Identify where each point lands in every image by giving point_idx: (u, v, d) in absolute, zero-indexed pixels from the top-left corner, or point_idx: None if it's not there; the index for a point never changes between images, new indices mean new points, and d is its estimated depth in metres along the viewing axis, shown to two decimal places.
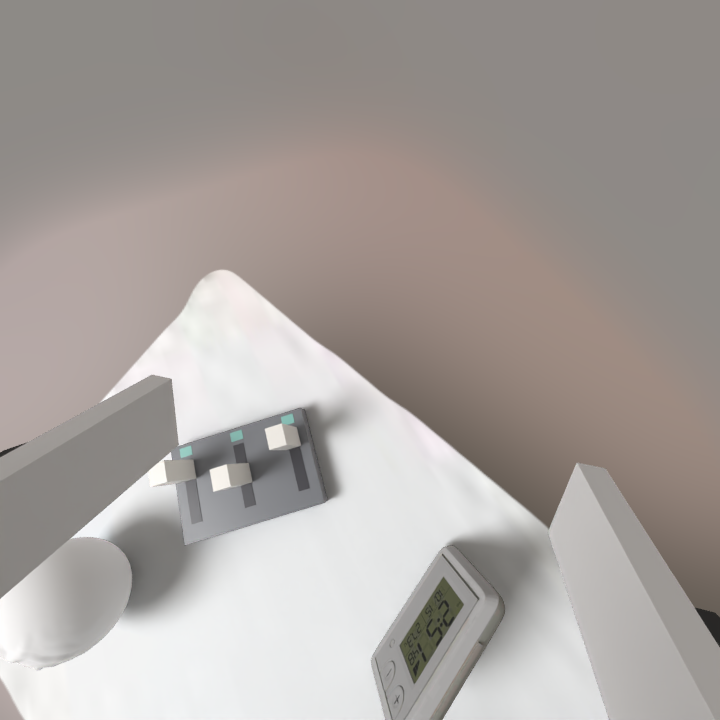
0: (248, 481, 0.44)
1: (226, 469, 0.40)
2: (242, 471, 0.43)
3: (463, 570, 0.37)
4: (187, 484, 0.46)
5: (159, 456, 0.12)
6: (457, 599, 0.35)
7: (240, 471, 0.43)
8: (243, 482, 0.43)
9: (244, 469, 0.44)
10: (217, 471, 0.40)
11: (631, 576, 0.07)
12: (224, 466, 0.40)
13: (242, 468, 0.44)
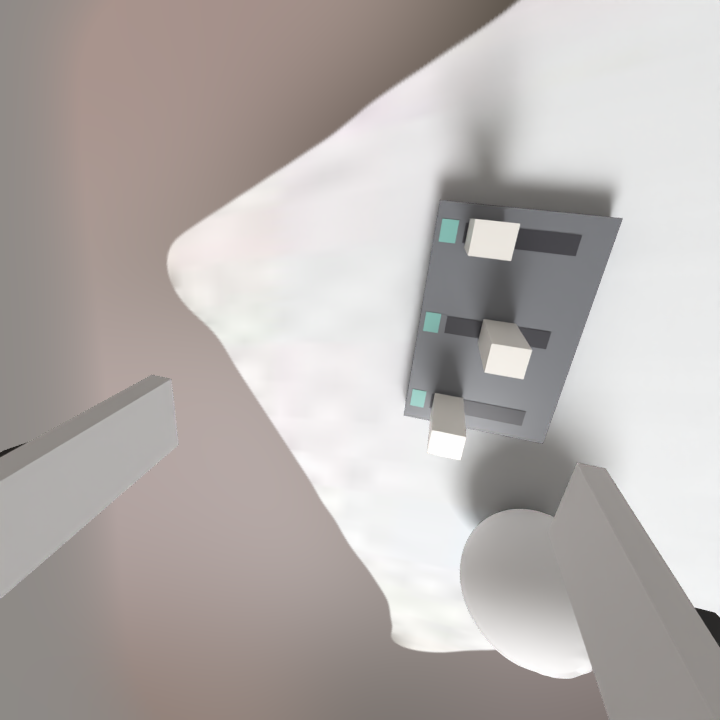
0: (516, 327, 0.27)
1: (500, 347, 0.23)
2: (500, 329, 0.26)
3: None
4: (464, 411, 0.31)
5: (159, 456, 0.12)
6: None
7: (500, 331, 0.25)
8: (519, 333, 0.25)
9: (496, 326, 0.26)
10: (494, 361, 0.23)
11: (631, 576, 0.07)
12: (493, 348, 0.23)
13: (494, 327, 0.26)
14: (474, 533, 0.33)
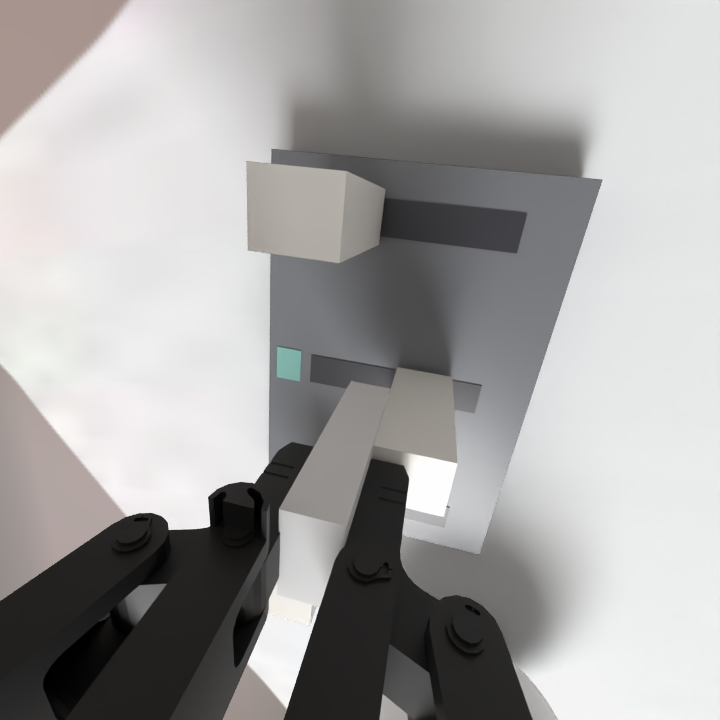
0: (448, 388, 0.15)
1: (391, 454, 0.11)
2: (415, 394, 0.14)
3: None
4: None
5: None
6: None
7: (413, 400, 0.13)
8: (449, 405, 0.13)
9: (411, 386, 0.14)
10: None
11: None
12: (377, 454, 0.11)
13: (405, 390, 0.14)
14: None
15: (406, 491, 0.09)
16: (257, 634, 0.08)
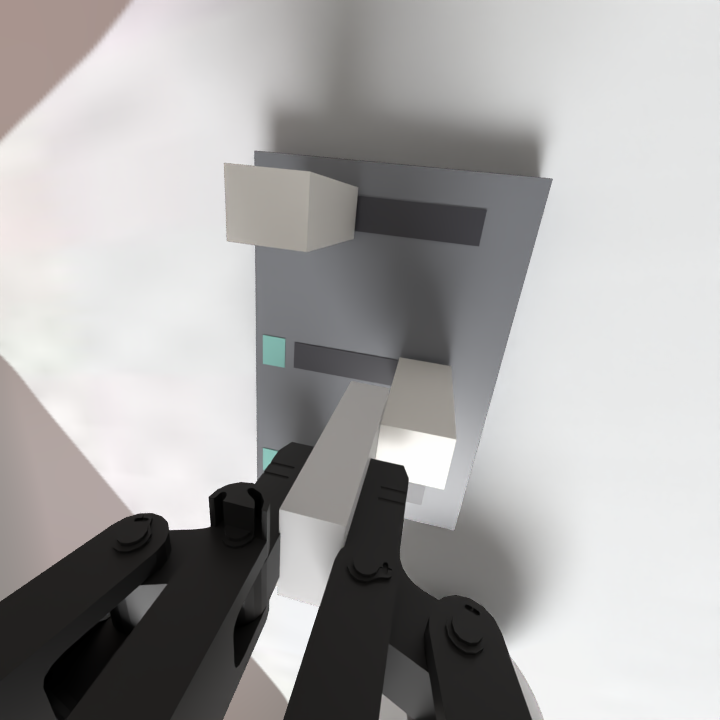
0: (448, 375, 0.16)
1: (396, 432, 0.12)
2: (417, 381, 0.15)
3: None
4: None
5: None
6: None
7: (415, 386, 0.14)
8: (449, 390, 0.14)
9: (413, 374, 0.15)
10: (389, 456, 0.12)
11: None
12: (384, 432, 0.12)
13: (407, 377, 0.15)
14: None
15: (406, 491, 0.09)
16: (257, 634, 0.08)
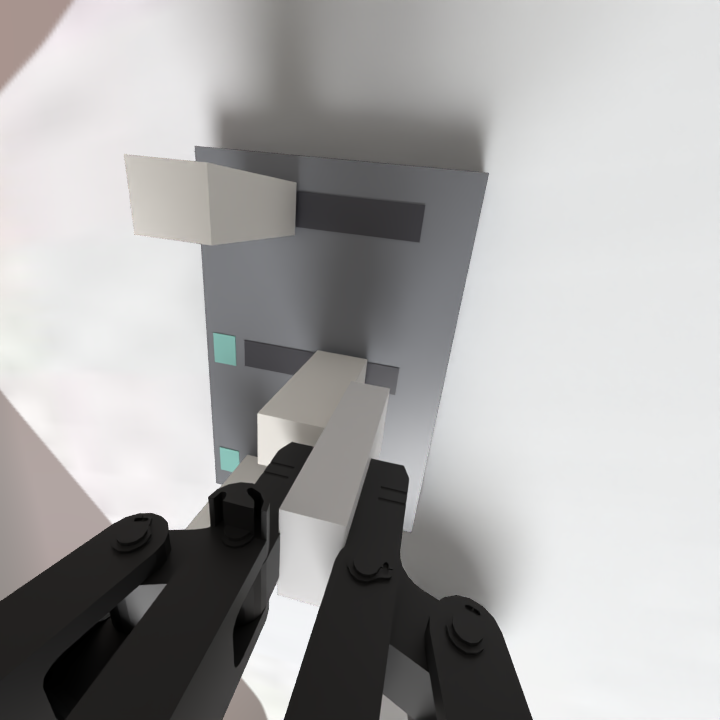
0: (358, 368, 0.16)
1: (273, 421, 0.12)
2: (322, 373, 0.15)
3: None
4: None
5: None
6: None
7: (317, 377, 0.14)
8: None
9: (322, 366, 0.15)
10: (270, 446, 0.12)
11: None
12: (262, 421, 0.12)
13: (314, 369, 0.15)
14: None
15: (406, 491, 0.09)
16: (257, 634, 0.08)
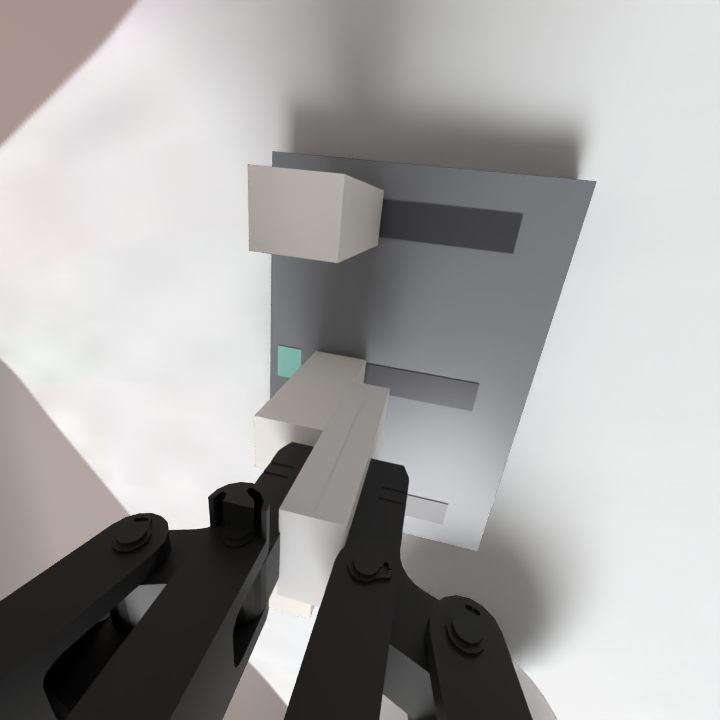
0: (357, 369, 0.15)
1: (270, 424, 0.11)
2: (320, 374, 0.15)
3: None
4: None
5: None
6: None
7: (315, 378, 0.14)
8: (349, 383, 0.14)
9: (320, 367, 0.15)
10: (267, 449, 0.12)
11: None
12: (259, 424, 0.11)
13: (312, 371, 0.15)
14: None
15: (406, 491, 0.09)
16: (257, 634, 0.08)
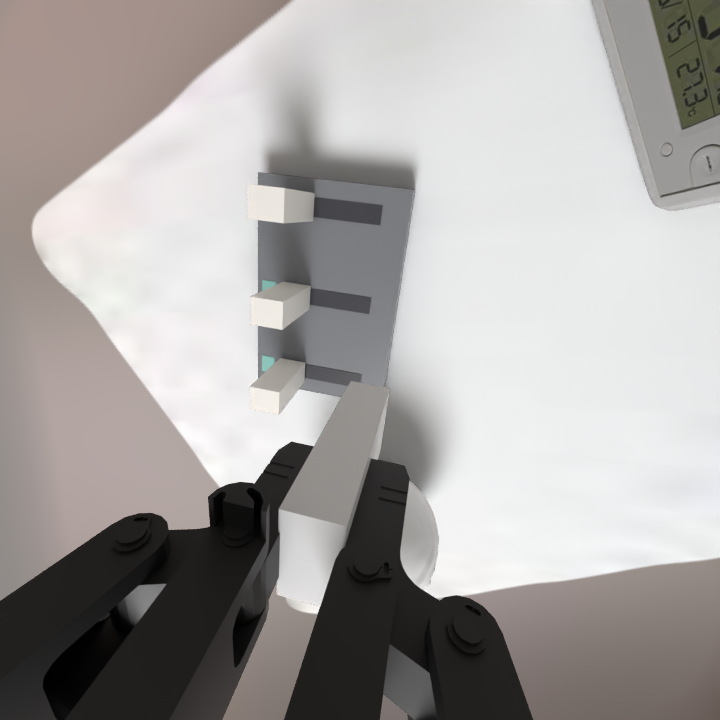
0: (304, 288, 0.29)
1: (257, 300, 0.25)
2: (283, 288, 0.28)
3: None
4: (309, 375, 0.34)
5: None
6: None
7: (281, 289, 0.28)
8: (297, 291, 0.28)
9: (284, 286, 0.29)
10: (256, 313, 0.25)
11: None
12: (252, 300, 0.25)
13: (279, 287, 0.28)
14: None
15: (406, 491, 0.09)
16: (256, 634, 0.08)
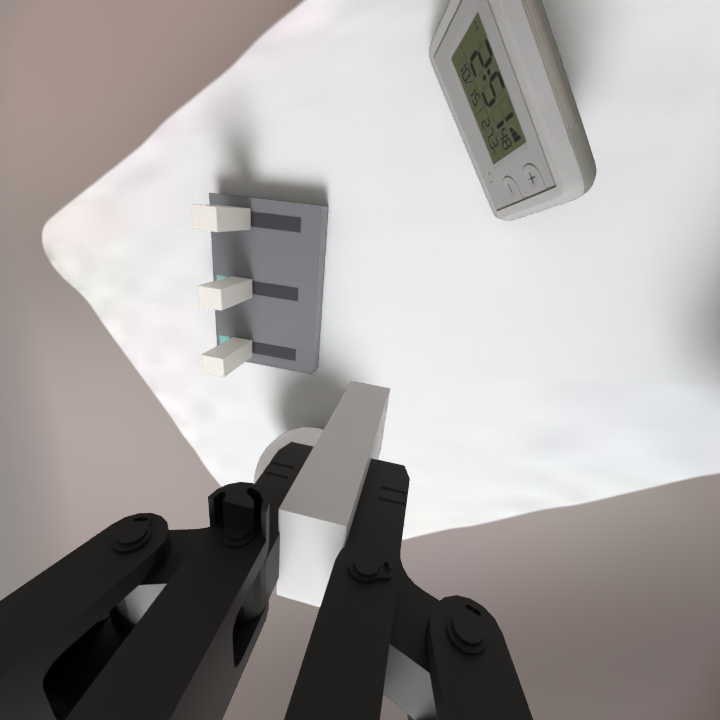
0: (245, 280, 0.38)
1: (202, 288, 0.34)
2: (228, 280, 0.37)
3: (449, 7, 0.25)
4: (256, 351, 0.42)
5: None
6: (472, 28, 0.24)
7: (225, 281, 0.37)
8: (238, 283, 0.36)
9: (229, 279, 0.38)
10: (202, 298, 0.34)
11: None
12: (199, 289, 0.34)
13: (225, 279, 0.37)
14: None
15: (406, 491, 0.09)
16: (256, 634, 0.08)
